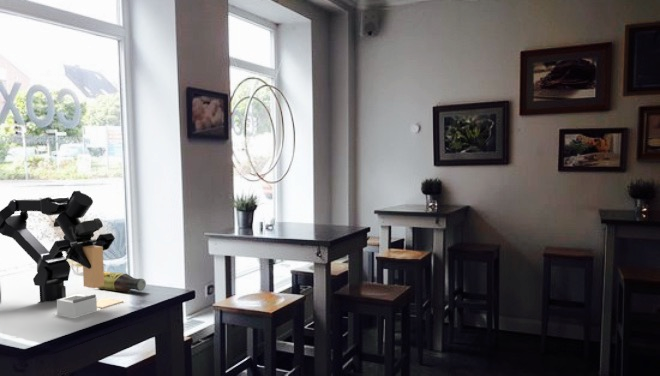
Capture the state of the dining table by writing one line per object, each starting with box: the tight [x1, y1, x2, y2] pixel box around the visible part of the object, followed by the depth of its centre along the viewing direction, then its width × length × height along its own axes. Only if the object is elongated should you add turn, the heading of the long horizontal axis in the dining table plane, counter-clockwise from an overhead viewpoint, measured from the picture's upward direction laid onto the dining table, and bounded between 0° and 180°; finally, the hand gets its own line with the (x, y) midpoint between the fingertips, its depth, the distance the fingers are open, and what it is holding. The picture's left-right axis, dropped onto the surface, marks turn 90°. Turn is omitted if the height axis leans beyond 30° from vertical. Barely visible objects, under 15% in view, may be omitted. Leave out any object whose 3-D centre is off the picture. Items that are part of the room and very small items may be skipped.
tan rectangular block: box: [82, 245, 104, 289], centre depth 149 cm, size 5×3×12 cm
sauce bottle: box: [96, 271, 147, 293], centre depth 172 cm, size 6×6×20 cm
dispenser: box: [53, 293, 126, 319], centre depth 149 cm, size 9×18×6 cm, turn 152°
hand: (96, 266), depth 149 cm, fingers closed on tan rectangular block, 3 cm apart
